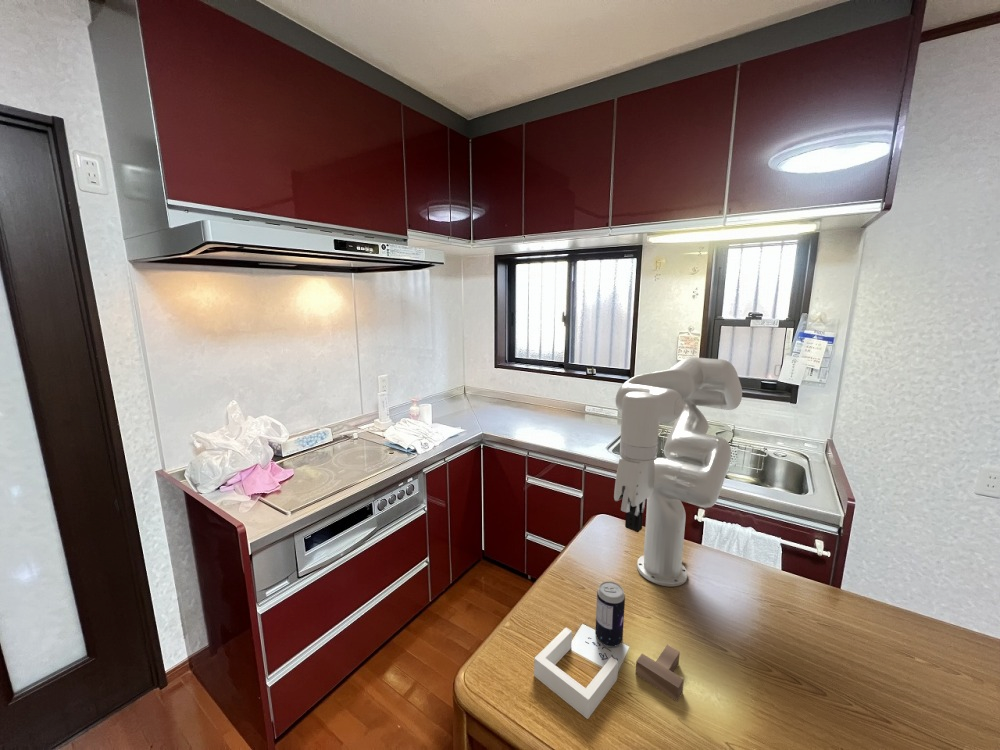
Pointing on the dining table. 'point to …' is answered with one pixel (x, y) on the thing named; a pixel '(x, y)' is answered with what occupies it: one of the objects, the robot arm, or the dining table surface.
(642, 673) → the walnut T block
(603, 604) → the beverage can
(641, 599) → the dining table surface
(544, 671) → the corral
